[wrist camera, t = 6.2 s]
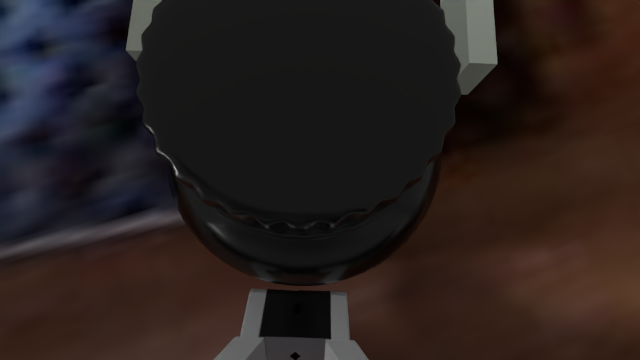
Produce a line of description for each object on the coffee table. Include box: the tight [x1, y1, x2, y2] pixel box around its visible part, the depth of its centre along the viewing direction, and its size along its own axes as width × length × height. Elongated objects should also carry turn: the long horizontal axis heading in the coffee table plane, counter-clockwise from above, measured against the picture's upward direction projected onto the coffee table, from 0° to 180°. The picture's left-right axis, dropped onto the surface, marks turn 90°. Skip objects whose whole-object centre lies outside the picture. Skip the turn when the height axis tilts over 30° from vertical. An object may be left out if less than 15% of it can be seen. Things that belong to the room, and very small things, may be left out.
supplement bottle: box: [135, 0, 461, 286], centre depth 11 cm, size 7×7×12 cm
